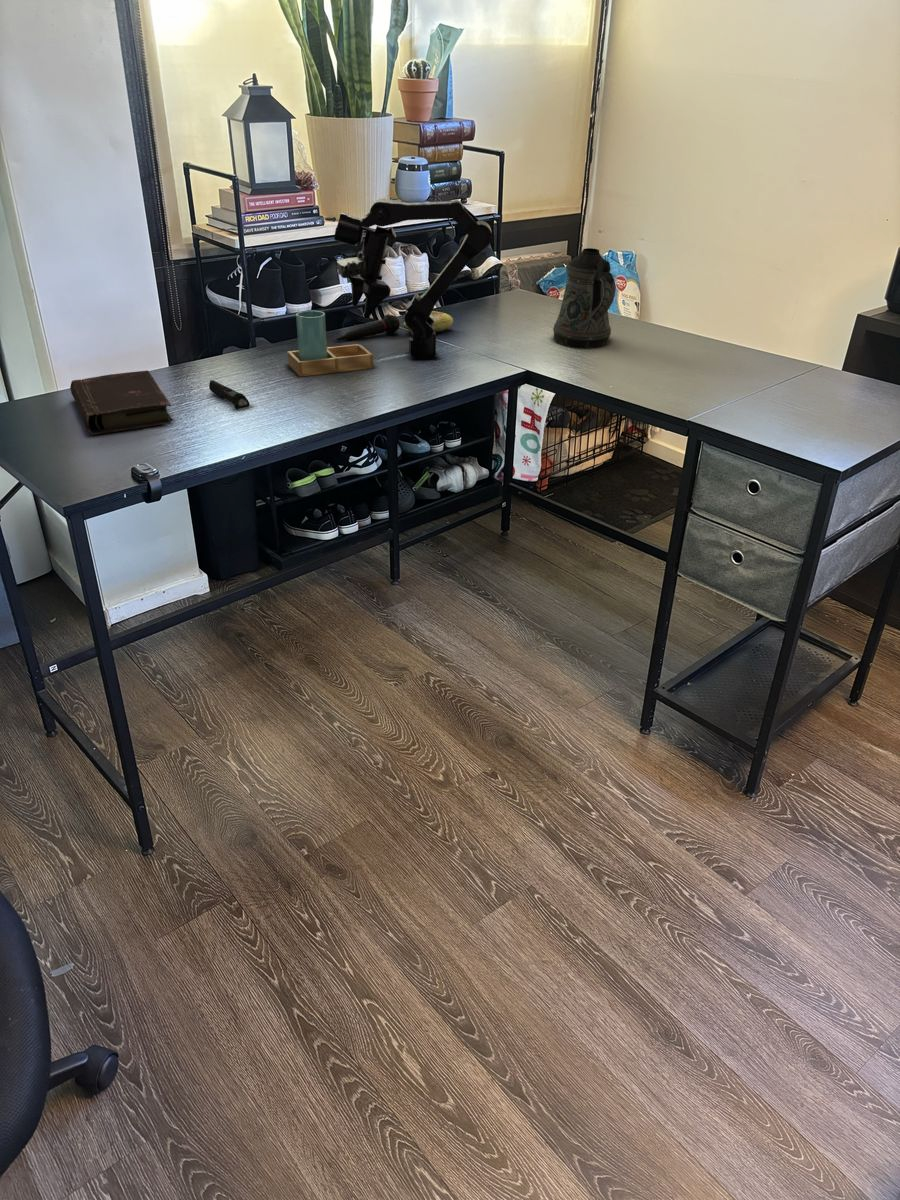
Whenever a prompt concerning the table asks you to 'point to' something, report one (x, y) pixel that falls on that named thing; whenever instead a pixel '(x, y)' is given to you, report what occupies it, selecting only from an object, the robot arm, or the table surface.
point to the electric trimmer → (229, 395)
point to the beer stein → (586, 302)
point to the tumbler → (311, 335)
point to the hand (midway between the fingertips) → (360, 311)
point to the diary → (120, 402)
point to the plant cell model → (438, 321)
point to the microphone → (374, 328)
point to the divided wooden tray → (333, 361)
